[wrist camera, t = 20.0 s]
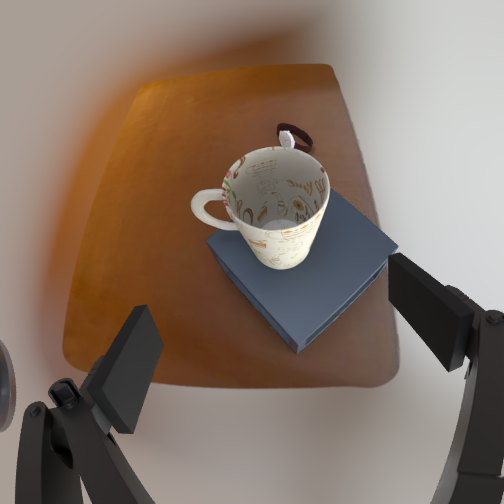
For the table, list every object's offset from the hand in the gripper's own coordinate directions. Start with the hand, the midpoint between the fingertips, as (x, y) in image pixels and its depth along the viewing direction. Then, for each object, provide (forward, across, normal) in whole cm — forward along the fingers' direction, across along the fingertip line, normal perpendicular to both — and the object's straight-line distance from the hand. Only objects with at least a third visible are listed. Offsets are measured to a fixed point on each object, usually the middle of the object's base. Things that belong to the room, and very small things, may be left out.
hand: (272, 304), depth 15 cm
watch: (+39, +9, +8) cm, 41 cm away
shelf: (+22, +4, -9) cm, 25 cm away
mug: (+17, 0, -2) cm, 17 cm away
